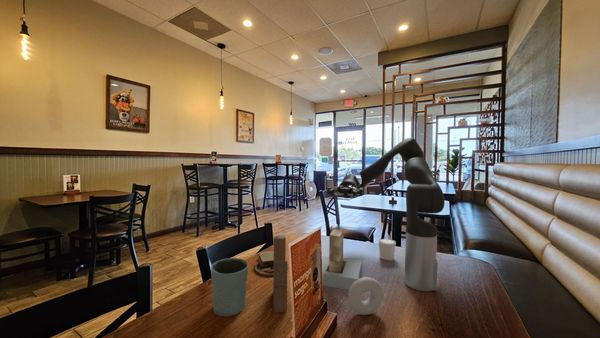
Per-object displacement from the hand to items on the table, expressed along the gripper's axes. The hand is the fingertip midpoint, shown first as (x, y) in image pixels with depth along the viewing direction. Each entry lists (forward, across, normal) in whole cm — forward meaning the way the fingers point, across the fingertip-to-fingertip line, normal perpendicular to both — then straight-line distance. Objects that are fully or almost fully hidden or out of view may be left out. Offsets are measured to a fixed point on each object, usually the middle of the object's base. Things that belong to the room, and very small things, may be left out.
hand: (342, 193), depth 97 cm
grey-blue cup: (+38, -25, +28) cm, 54 cm away
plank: (+11, 0, +28) cm, 30 cm away
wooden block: (+31, -13, +28) cm, 44 cm away
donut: (+29, +11, +28) cm, 42 cm away
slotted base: (+11, 0, +28) cm, 30 cm away
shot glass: (-13, +17, +28) cm, 35 cm away
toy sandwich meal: (+12, -25, +28) cm, 40 cm away
